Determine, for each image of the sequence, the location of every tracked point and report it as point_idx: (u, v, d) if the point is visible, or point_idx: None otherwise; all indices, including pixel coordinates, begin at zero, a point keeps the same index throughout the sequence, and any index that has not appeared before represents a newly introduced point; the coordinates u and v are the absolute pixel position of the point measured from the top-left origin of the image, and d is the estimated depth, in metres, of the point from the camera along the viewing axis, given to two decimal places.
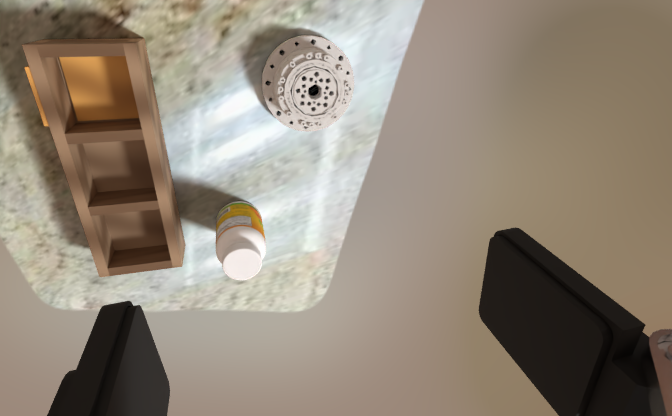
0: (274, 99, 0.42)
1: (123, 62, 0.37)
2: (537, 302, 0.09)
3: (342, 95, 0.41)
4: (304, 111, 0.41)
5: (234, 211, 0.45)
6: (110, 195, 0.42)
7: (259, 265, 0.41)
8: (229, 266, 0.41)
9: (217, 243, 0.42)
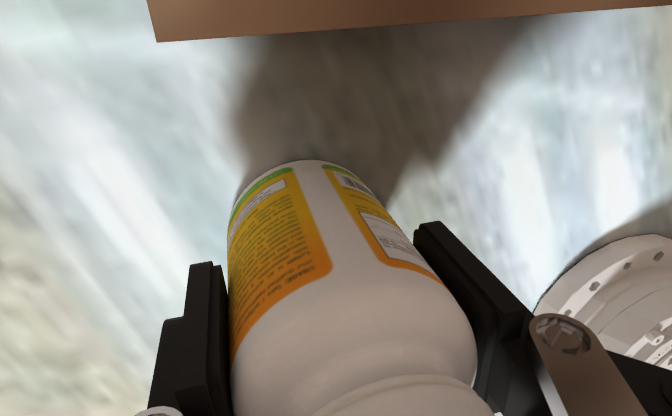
0: (624, 273, 0.18)
1: None
2: None
3: None
4: None
5: None
6: None
7: None
8: None
9: (414, 284, 0.08)
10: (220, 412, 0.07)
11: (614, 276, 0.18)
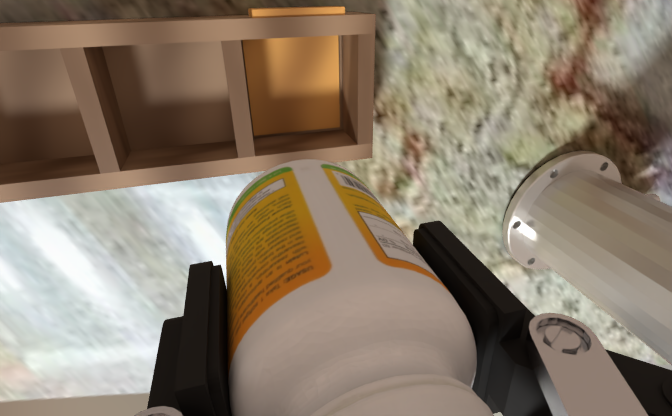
0: None
1: (329, 117, 0.28)
2: None
3: None
4: None
5: None
6: (103, 72, 0.22)
7: None
8: None
9: (413, 283, 0.08)
10: (220, 412, 0.07)
11: None
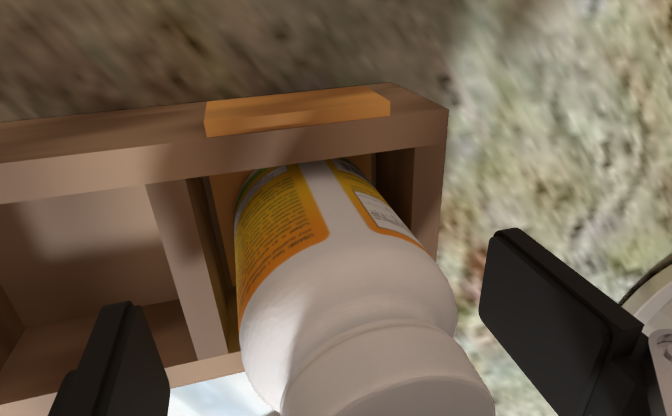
0: None
1: None
2: (537, 302, 0.09)
3: None
4: None
5: None
6: None
7: None
8: (402, 408, 0.07)
9: (400, 248, 0.09)
10: None
11: None
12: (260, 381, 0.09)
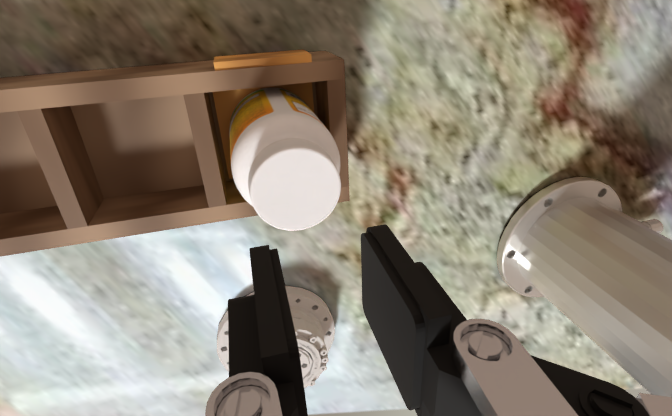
0: None
1: None
2: (386, 295, 0.10)
3: None
4: None
5: None
6: (68, 126, 0.22)
7: (292, 227, 0.18)
8: (294, 163, 0.16)
9: (306, 117, 0.19)
10: (297, 380, 0.08)
11: None
12: (240, 178, 0.19)
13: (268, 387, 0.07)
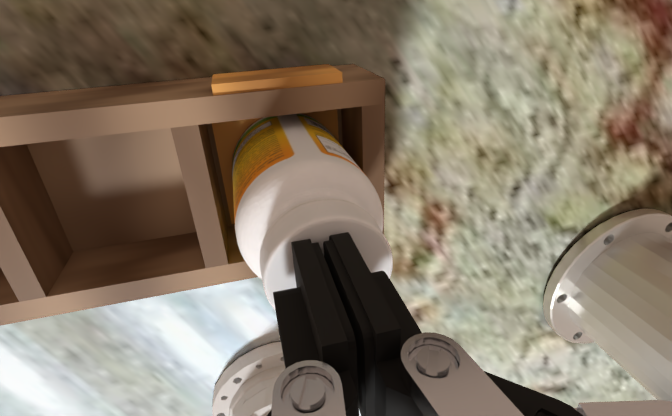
0: (260, 371, 0.26)
1: None
2: (343, 306, 0.09)
3: None
4: None
5: None
6: (20, 167, 0.16)
7: None
8: None
9: (340, 162, 0.13)
10: (352, 369, 0.08)
11: (251, 373, 0.26)
12: (248, 249, 0.13)
13: (331, 374, 0.07)
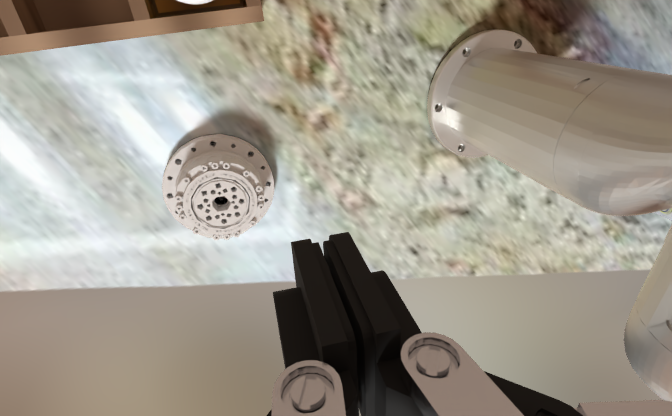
0: (194, 154, 0.35)
1: None
2: (343, 306, 0.09)
3: (224, 232, 0.36)
4: (194, 197, 0.33)
5: None
6: None
7: None
8: None
9: None
10: (352, 369, 0.08)
11: (188, 156, 0.35)
12: None
13: (331, 374, 0.07)
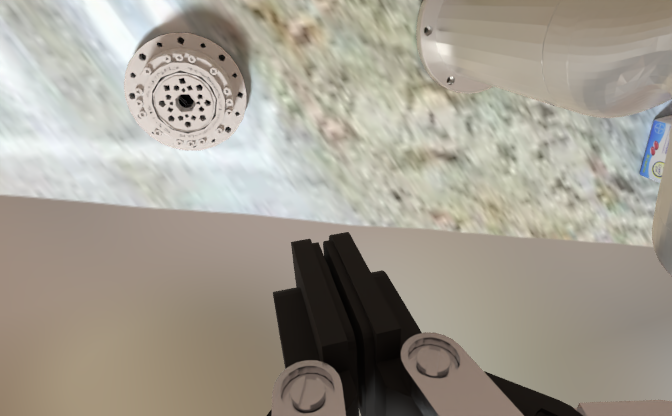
0: (160, 50, 0.32)
1: None
2: (343, 306, 0.09)
3: (187, 138, 0.33)
4: (156, 91, 0.31)
5: None
6: None
7: None
8: None
9: None
10: (352, 369, 0.08)
11: (153, 51, 0.32)
12: None
13: (331, 374, 0.07)
